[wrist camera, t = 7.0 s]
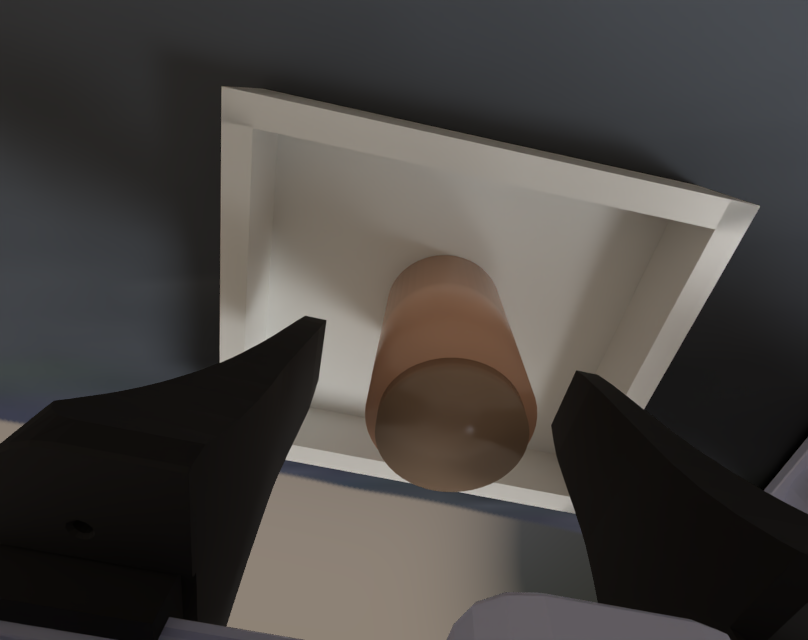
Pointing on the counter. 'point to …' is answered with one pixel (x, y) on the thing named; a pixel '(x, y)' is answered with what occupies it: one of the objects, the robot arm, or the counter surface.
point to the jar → (448, 380)
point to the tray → (463, 237)
